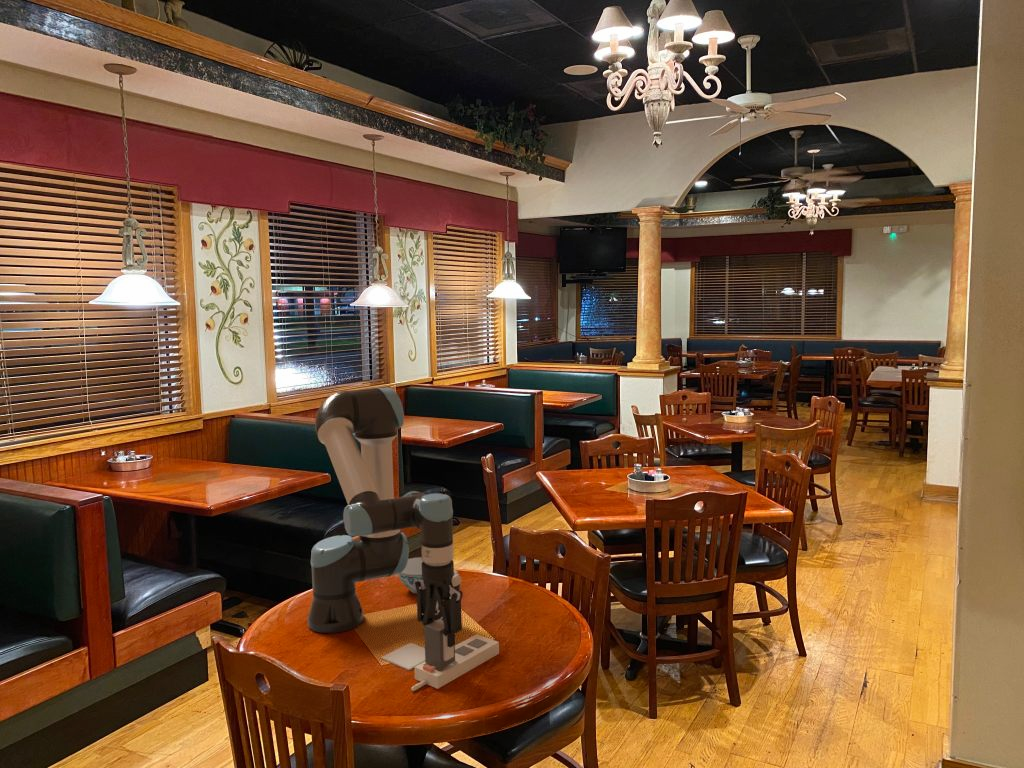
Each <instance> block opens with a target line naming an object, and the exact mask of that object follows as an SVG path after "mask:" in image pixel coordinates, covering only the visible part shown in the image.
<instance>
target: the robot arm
mask: <svg viewBox="0 0 1024 768" xmlns="http://www.w3.org/2000/svg"><path fill="white" fill-rule="evenodd" d="M401 400H402V399H400V396H399V395H398V392H397V391H395V390H394V389H393V388H391V387H371V388H362V389H353V390H352V389H351V390H339V391H337V392H334V393H332V394H331V395H328V396H327V397H326V398H325V399H324V401H323V402H322V403H321V405H320V406H319V407H318V410H317V412H316V416H315V420H314V421H315V422H314V428H315V433H316V435H317V438H318V441H319V443H321V444H323V445H324V446H325V448H326V451H327V453H328V456H329V458H330V461H331V464H332V466H333V467H332V468H334V469H333V470H334V472H335V474H336V476H337V480H338V483H339V485H340V487H341V490H342V493H343V495H344V498H345V500H346V503H347V505H346V506H345V507H344V509H343V517H342V518H343V523H344V529H345V532H346V533H347V534H348V535H346V534H342V535H340V534H339V535H333V536H330V537H326V538H324V539H322V540H319V541H318V542H316V544H314V545H313V547H312V549H311V551H310V552H311V554H310V556H311V557H310V565H311V581H312V582H311V583H312V600H311V605H310V608H309V612H308V614H307V627H308V628H309V629H310V630H311V631H313V632H316V633H320V634H321V633H322V634H335V633H342V632H347V631H350V630H352V629H354V628H357V627H358V626H360V625H361V624H362V622H364V610H363V608H362V605H361V602H360V600H359V597H358V594H357V591H356V588H357V587H356V583H360V582H361V583H362V582H365V581H371V580H375V579H376V580H377V579H381V578H389V577H392V576H395V575H397V574H399V573H401V572H402V571H403V570H404V569H405V567H406V565H407V562H408V559H409V554H410V551H409V544H408V542H409V541H408V538H407V536H406V534H405V533H404V532H401V530H405V529H409V528H417V529H419V531H420V548H421V549H420V551H421V553H420V554H421V557H422V561H423V562H422V577H423V579H421V580H419V581H417V582H415V586H416V590H417V594H416V615H417V617H416V618H417V621H418V622H419V623H420V622H421V623H422V625H423V627H425V626H426V625H428V624H430V623H432V622H434V615H435V609H436V604H437V601H438V605H439V606H440V608H441V613H442V617H443V622H444V627H445V633H443V653H444V661H447V660H449V659H451V658H453V657H454V645H456V634H457V633H459V632H461V631H462V630H463V625H462V623H463V622H462V621H463V619H462V598H463V591H462V590H459V591H456V590H455V589H454V588H453V584H452V578H453V576H454V570H455V561H454V532H453V531H454V529H453V528H454V527H453V526H454V525H453V522H454V520H453V519H454V518H453V515H454V509H453V501H452V498H451V496H450V495H448V494H443V493H439V492H438V493H436V492H435V493H428V494H425V493H423V492H420V491H416V490H412V491H411V490H410V491H409V492H407V493H406V494H404V495H403V496H402V497H401V496H400V497H395V494H394V492H395V491H394V467H393V466H394V465H393V441H394V440H395V438H397V436H398V429H400V428H402V427H403V425H404V421H405V414H404V413H405V412H404V407H403V403H402V401H401ZM353 433H354V434H353ZM356 440H357V441H358V442H359V443H360V449H359V445H358V444H357V441H356ZM353 537H359V539H354V538H353ZM445 599H446V600H445ZM443 600H444V601H443ZM435 621H436V620H435ZM450 627H451V628H450ZM423 634H424V636H425V633H423Z"/></svg>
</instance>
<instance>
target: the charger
mask: <svg viewBox="0 0 1024 768" xmlns="http://www.w3.org/2000/svg"><path fill="white" fill-rule="evenodd" d="M423 627H424V626H423ZM450 628H451V627H450ZM423 630H424V633H425V635H424V648H425V663H427V664H430V665H432V666H434V667H437V668H439V669H441V668H443V667H445V666H447V665H449V664H450V663H452V662H454V661H455V645H456V644H455V645H454V657H453V658H451V659H449V660H447V661H444V653H443V633H445V627H444V622H443V620H440V619H439V620H436V621H434V622H432V623H430V624H428V625H426V626H425V627H424V628H423ZM424 633H423V634H424Z"/></svg>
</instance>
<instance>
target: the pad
mask: <svg viewBox="0 0 1024 768" xmlns="http://www.w3.org/2000/svg"><path fill="white" fill-rule="evenodd" d="M380 660H383V661H386V662H388V663H390V664H392V665H395V666H398V667H400V668H402V669H404V670H406V671H410V670H412V669H415V667H416V666H417V665H419V664H421V663H423V662H425V647H422V646H419V645H417V644H415V643H412V642H409V643H407V644H405V645H403V646H401V647H398V648H397V649H395V650H393V651H390V652H389V653H386V654H385V655H383V656H381V658H380Z"/></svg>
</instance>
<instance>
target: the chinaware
mask: <svg viewBox="0 0 1024 768" xmlns="http://www.w3.org/2000/svg"><path fill="white" fill-rule="evenodd" d="M422 562H423V561H422V557H420V556H419V557H412V558H408V562H407V565H406V567H405V569H404V570H403V571H402V572H401V573H399V574H396V575H397V577H398V580H399V581H400V582H401V583H402V584H403V585H404V586H405V587H406V588H407V589H409V591H410V592H411V593H412V594H415V595H417V590H416V586H415V582H417V581H419V580H421V579H423V577H422Z"/></svg>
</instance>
